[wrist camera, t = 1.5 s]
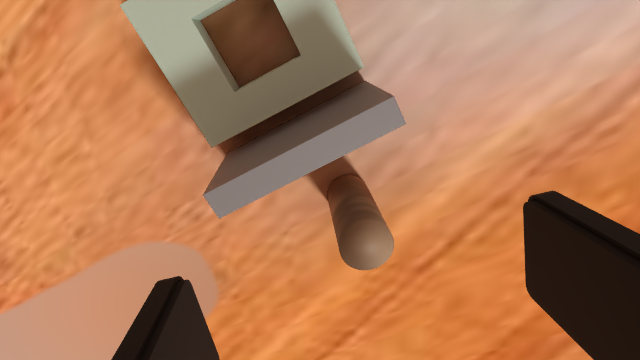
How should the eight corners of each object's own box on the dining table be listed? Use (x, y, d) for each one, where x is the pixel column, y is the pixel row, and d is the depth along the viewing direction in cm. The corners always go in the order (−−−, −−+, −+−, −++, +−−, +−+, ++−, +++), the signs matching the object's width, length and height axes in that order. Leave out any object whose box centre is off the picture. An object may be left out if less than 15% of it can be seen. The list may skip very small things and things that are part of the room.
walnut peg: (357, 167, 36) (380, 212, 26) (374, 201, 37) (402, 255, 28) (320, 186, 36) (329, 237, 27) (338, 219, 37) (353, 278, 28)
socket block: (291, -83, 28) (291, -97, 25) (357, 64, 32) (364, 66, 30) (135, 8, 30) (119, 5, 27) (218, 138, 34) (211, 147, 31)
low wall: (364, 80, 33) (394, 96, 23) (374, 101, 34) (406, 123, 24) (227, 153, 34) (202, 195, 25) (238, 171, 35) (219, 218, 26)
